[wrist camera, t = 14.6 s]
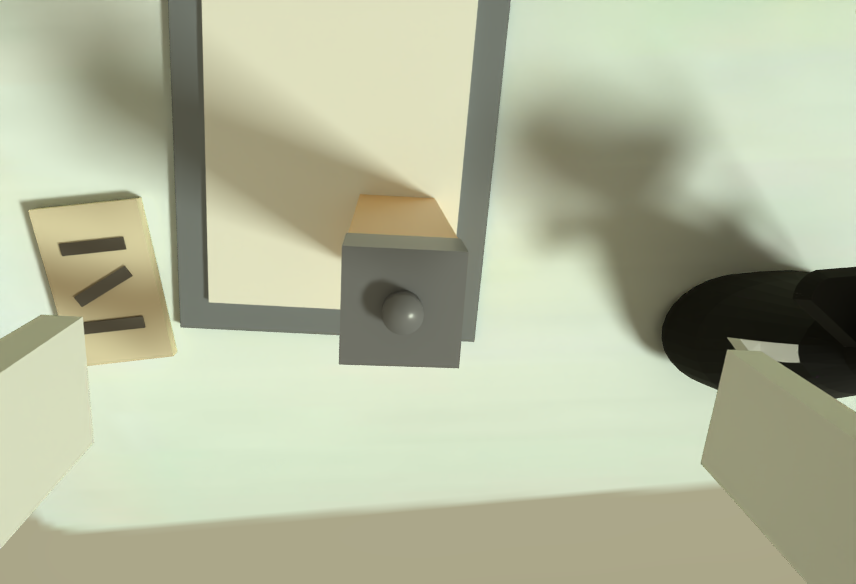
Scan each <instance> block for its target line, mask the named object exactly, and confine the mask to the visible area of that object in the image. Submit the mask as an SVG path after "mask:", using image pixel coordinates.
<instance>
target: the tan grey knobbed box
mask: <svg viewBox="0 0 856 584" xmlns="http://www.w3.org/2000/svg"><path fill="white" fill-rule="evenodd" d="M468 255H469V252H468V250H467V248H466V247H465V245H464V243H463V242H462V240H461V238H458V237H457V236H456V234H455V232H454V231H453V229H452V227H451V225H450V224H449V222H448V220H447V219H446V217H445V215H444V213H443V212H442V210H441V208H440V207H439V205H438V203H437V201H436V200H435V198H420V197H402V196H384V195H366V194H360V195H359V199H358V202H357V205H356V209H355V212H354V215H353V218H352V222H351V225H350V228H349V231H348V233H346V235H345V238H344V241H343V244H342V260H341V301H340V342H339V364H343V365H375V366H406V367H438V368H459V361H460V350H461V338H462V326H463V314H464V302H465V290H466V279H467V267H468Z"/></svg>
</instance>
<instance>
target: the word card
mask: <svg viewBox="0 0 856 584" xmlns="http://www.w3.org/2000/svg"><path fill="white" fill-rule="evenodd" d="M28 212H29V216H30V219H31V223H32V226H33V230H34V233H35V236H36V240H37V243H38V247H39V250H40V254H41V257H42V261H43V264H44V268H45V271H46V275H47V278H48V281H49V285H50V288H51V292H52V295H53V299H54V302H55V306H56V309H57V313H58V316H77V317H83V325H84V336H85V348H86V359H87V366H92V365H100V364H109V363H118V362H127V361H135V360H144V359H153V358H162V357H171V356H174V355H175V354H176V353H177V349H176V344H175V340H174V336H173V331H172V327H171V323H170V319H169V314H168V310H167V306H166V301H165V297H164V293H163V288H162V284H161V280H160V276H159V271H158V267H157V263H156V258H155V254H154V250H153V246H152V241H151V237H150V233H149V228H148V224H147V220H146V216H145V211H144V207H143V203H142V198H131V199H121V200H112V201H102V202H93V203H83V204H73V205H64V206H54V207H45V208H35V209H31V210H28Z"/></svg>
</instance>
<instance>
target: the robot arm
mask: <svg viewBox="0 0 856 584" xmlns="http://www.w3.org/2000/svg"><path fill="white" fill-rule="evenodd" d="M93 443H94V439H93V428H92V416H91V405H90V394H89V382H88V371H87V359H86V348H85V336H84V325H83V317H77V316H58V315H40V316H38V317H37V318H35V319H33V320H32V321H30V322H28V323H26V324H25V325H23V326H21V327H20V328H18V329H16V330H15V331H13V332H11V333H10V334H8V335H6V336H5V337H3V338H1V339H0V549H1V547H2V546H3V545H4V544H5V543H6V542H7V541H8V540H9V538H10V537H11V536H12V535H13V534H14V533H15V532H16V531H17V529H18V528H19V527H20V526H21V525H22V524H23V523H24V521H25V520H26V519H27V518H28V517H29V516H30V515H31V513H32V512H33V511H34V510H35V509H36V508H37V507H38V506H39V504H40V503H41V502H42V501H43V500H44V499H45V498H46V496H47V495H48V494H49V493H50V492H51V491H52V490H53V488H54V487H55V486H56V485H57V484H58V483H59V482H60V481H61V479H62V478H63V477H64V476H65V475H66V474H67V473H68V471H69V470H70V469H71V468H72V467H73V466H74V465H75V463H76V462H77V461H78V460H79V459H80V458H81V457H82V456H83V454H84V453H85V452H86V451H87V450H88V449H89V448H90V446H91V445H92V444H93ZM701 464H702V465H703V467H704V468H705V469H706V470H707V471H708V472H709V473H710V474H711V476H712V477H713V478H714V479H715V480H716V481H717V482H718V483H719V485H720V486H721V487H722V488H723V489H724V490H725V491H726V492H727V494H728V495H729V496H730V497H731V498H732V499H733V500H734V501H735V503H736V504H737V505H738V506H739V507H740V508H741V509H742V510H743V511H744V513H745V514H746V515H747V516H748V517H749V518H750V519H751V521H752V522H753V523H754V524H755V525H756V526H757V527H758V528H759V529H760V531H761V532H762V533H763V534H764V535H765V536H766V537H767V539H768V540H769V541H770V542H771V543H772V544H773V545H774V546H775V547H776V549H777V550H778V551H779V552H780V553H781V554H782V555H783V556H784V558H785V559H786V560H787V561H788V562H789V563H790V564H791V566H792V567H793V568H794V569H795V570H796V571H797V572H798V573H799V575H800V576H801V577H802V578H803V579H804V580H805V581H806V582H807V584H856V412H855V411H853V410H852V409H850V408H849V407H847V406H846V405H844V404H842V403H841V402H839V401H838V400H836V399H835V398H833V397H832V396H830V395H828V394H827V393H825V392H824V391H822V390H821V389H819V388H818V387H816V386H815V385H813V384H811V383H810V382H808V381H807V380H805V379H804V378H802V377H801V376H799V375H797V374H796V373H794V372H793V371H791V370H790V369H788V368H787V367H785V366H783V365H782V364H780V363H779V362H777V361H776V360H774V359H773V358H771V357H769V356H768V355H766V354H765V353H763V352H762V351H745V350H727V353H726V357H725V361H724V366H723V370H722V374H721V378H720V383H719V387H718V391H717V395H716V400H715V404H714V408H713V412H712V417H711V421H710V425H709V429H708V434H707V438H706V442H705V447H704V451H703V455H702V459H701Z"/></svg>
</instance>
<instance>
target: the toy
mask: <svg viewBox="0 0 856 584" xmlns="http://www.w3.org/2000/svg"><path fill="white" fill-rule="evenodd" d="M662 342H663V346H664V350H665V352H666V354H667V356H668V357H669V359H670V361H671V362H672V363H673V364H674V365H675V366H676V367H677V368H678V369H679V370H680V371H681V372H683V373H684V374H685V375H687V376H688V377H690V378H691V379H694V380H696V381H698V382H700V383H702V384H705V385H707V386H710V387H712V388H715V389H717V390H718V387H719V383H720V378H721V374H722V370H723V366H724V361H725V357H726V353H727V350H745V351H762V352H763V353H765V354H766V355H768V356H769V357H771V358H773V359H774V360H776V361H777V362H779V363H780V364H782V365H783V366H785V367H787V368H788V369H790V370H791V371H793V372H794V373H796V374H797V375H799V376H801V377H802V378H804V379H805V380H807V381H808V382H810V383H811V384H813V385H815V386H816V387H818V388H819V389H821V390H822V391H824V392H825V393H827V394H828V395H830V396H832V397H833V398H835V399H836V398H842V397H848V396H855V395H856V267H849V268H836V269H823V270H815V271H813V272H810V273H807V272H800V271H792V270H791V271H764V272H752V273H742V274H733V275H726V276H722V277H719V278H715V279H712V280H709V281H707V282H705V283H703V284H700V285H698V286H696V287H695V288H693V289H692V290H690V291H688V292H687V293H685V294H684V295H683V296H682V297H681V298H680V299H679V300H678V301H677V302H676V303H674V305H673V306H672V308H671V309H670V311H669V312H668V314H667V315H666V318H665V321H664V323H663V326H662Z"/></svg>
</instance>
